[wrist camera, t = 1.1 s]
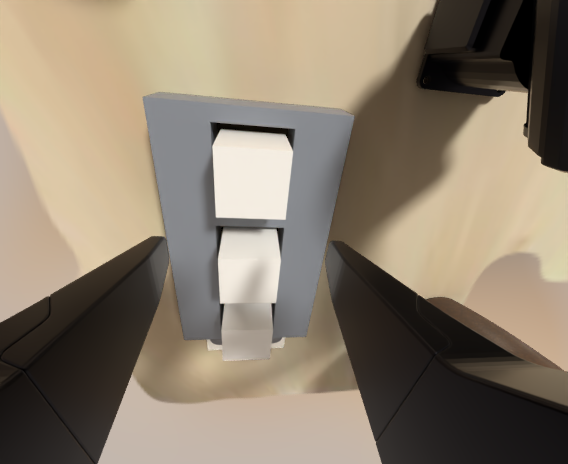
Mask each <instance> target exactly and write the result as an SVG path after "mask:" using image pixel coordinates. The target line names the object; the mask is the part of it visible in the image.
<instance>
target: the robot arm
mask: <svg viewBox="0 0 568 464" xmlns="http://www.w3.org/2000/svg"><path fill="white" fill-rule="evenodd" d="M426 76H427V82H426V83H425V84H424V83H423V80H424V78H425V77H426ZM416 83H417V86H418V87H419V88H422V89H430V90H439V91H448V92H457V93H466V94H476V95H485V96H494V97H499V96H501V95H503V94H504V93H505V91H515V92H525V93H528V103H527V120H526V123H525V124H524V131H523V134H524V136H526V137H527V138H528V147H529V148H530V149H532V150H533V151H534V152H535V153H536V154H537V155H538V156H540V157H541V164H543V165H545V166H547V167H549V168H552V169H555V170H558V171H561V172H565V173H568V0H439V3H438V7H437V10H436V13H435V16H434V20H433V23H432V26H431V29H430V32H429V36H428V39H427V42H426V45H425V55H424V58H423V61H422V64H421V68H420V71H419V74H418V77H417V81H416ZM496 90H498V91H496ZM168 264H169V253H168V247H167V241H166V238H165V237H162V236H152V237H150V238H148V239H146V240H144V241H143V242H141V243H139V244H137V245H136V246H134V247H132V248H131V249H129V250H127V251H125V252H124V253H122V254H120V255H118V256H117V257H115V258H113V259H111V260H110V261H108V262H106V263H105V264H103V265H101V266H99V267H98V268H96V269H94V270H92V271H91V272H89V273H87V274H85V275H84V276H82V277H80V278H79V279H77V280H75V281H73V282H72V283H70V284H68V285H66V286H65V287H63V288H61V289H59V290H58V291H56V292H54V293H53V294H51V295H50V297H45V298H44V299H42V300H40V301H39V302H37V303H35V304H33V305H32V306H30V307H28V308H26V309H24V310H23V311H21V312H19V313H17V314H16V315H14V316H12V317H10V318H8V319H6V320H5V321H3V322H1V323H0V464H97V463H98V461H99V458H100V456H101V453H102V450H103V448H104V445H105V443H106V440H107V438H108V435H109V432H110V429H111V427H112V424H113V422H114V419H115V417H116V414H117V411H118V409H119V406H120V404H121V401H122V398H123V395H124V393H125V391H126V388H127V385H128V383H129V380H130V378H131V375H132V372H133V370H134V367H135V364H136V362H137V359H138V357H139V354H140V351H141V349H142V346H143V344H144V341H145V338H146V336H147V333H148V331H149V328H150V325H151V323H152V320H153V317H154V315H155V312H156V310H157V307H158V304H159V301H160V297H161V293H162V289H163V285H164V281H165V277H166V273H167V269H168ZM325 265H326V271H327V277H328V282H329V288H330V293H331V298H332V303H333V306H334V310H335V313H336V316H337V319H338V322H339V326H340V329H341V332H342V335H343V339H344V342H345V345H346V348H347V352H348V355H349V358H350V361H351V364H352V368H353V371H354V374H355V377H356V381H357V384H358V387H359V390H360V393H361V397H362V400H363V403H364V406H365V410H366V413H367V416H368V419H369V423H370V426H371V429H372V432H373V435H374V439H375V441H376V445H377V449H378V452H379V455H380V458H381V462H382V464H568V372H567V371H562V370H557V369H552V368H547V367H544V366H540V365H537V364H534V363H531V362H529V361H526V360H524V359H522V358H520V357H518V356H516V355H514V354H512V353H511V352H509V351H507V350H505V349H504V348H502V347H501V346H499V345H497V344H496V343H494V342H492V341H491V340H489V339H487V338H486V337H484V336H482V335H481V334H479V333H477V332H476V331H474V330H472V329H471V328H469V327H468V326H466V325H464V324H463V323H461V322H459V321H458V320H456V319H455V318H453V317H451V316H450V315H448V314H447V313H445V312H443V311H442V310H440V309H439V308H437V307H436V306H434V305H433V304H431V303H430V302H429V301H427V300H426V299H424V298H423V297H421V296H420V295H418V294H417V293H416V292H414V291H413V290H411V289H410V288H408V287H407V286H405V285H404V284H403V283H401V282H400V281H398V280H397V279H395V278H394V277H392V276H391V275H390V274H388V273H387V272H385V271H384V270H382V269H381V268H379V267H378V266H377V265H375V264H374V263H372V262H371V261H369V260H368V259H366V258H365V257H364V256H362V255H361V254H359V253H358V252H356V251H355V250H353V249H352V248H351V247H349V246H348V245H346V244H345V243H343V242H342V241H331V242H330V243H329V246H328V251H327V255H326V259H325Z"/></svg>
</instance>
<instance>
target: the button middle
mask: <svg viewBox="0 0 568 464" xmlns="http://www.w3.org/2000/svg"><path fill="white" fill-rule="evenodd" d="M280 264H281V257H280V250H279V243H278V236H277V229H276V228H269V227H235V226H224V228H223V234H222V239H221V245H220V250H219V256H218V271H219V291H220V304H221V303H276V300H277V291H278V282H279V273H280Z"/></svg>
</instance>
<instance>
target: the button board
mask: <svg viewBox="0 0 568 464" xmlns="http://www.w3.org/2000/svg"><path fill="white" fill-rule="evenodd" d="M143 102H144V108H145V114H146V120H147V126H148V132H149V137H150V143H151V149H152V155H153V161H154V167H155V173H156V178H157V184H158V190H159V196H160V202H161V208H162V214H163V219H164V225H165V231H166V237H167V243H168V249H169V254H170V260H171V266H172V272H173V278H174V284H175V290H176V295H177V301H178V307H179V313H180V319H181V325H182V330H183V336H184V340H207V339H222V332H221V330H222V322H223V313H224V303H221V304H220V291H219V271H218V256H219V250H220V245H221V226H240V227H274V228H279V232H278V243H279V250H280V257H281V264H280V273H279V282H278V291H277V300H276V303H271V308H272V321H273V335H272V338H281V337H306V335H307V330H308V326H309V321H310V317H311V312H312V308H313V303H314V299H315V294H316V290H317V285H318V280H319V276H320V271H321V267H322V262H323V258H324V253H325V249H326V244H327V240H328V235H329V231H330V226H331V222H332V217H333V213H334V208H335V204H336V199H337V194H338V190H339V185H340V181H341V176H342V172H343V167H344V163H345V158H346V154H347V149H348V145H349V140H350V136H351V131H352V127H353V122H354V118H355V116H354V115H352V114H350V113H348V112H346V111H344V110H342V109H335V108H324V107H314V106H303V105H293V104H282V103H271V102H261V101H250V100H239V99H229V98H218V97H208V96H197V95H186V94H176V93H165V92H157V93H154V94H151V95H147V96H144V97H143ZM217 123H228V124H241V125H253V126H265V127H278V128H289V132H288V141H289V143H290V146H291V148H292V150H293V158H292V167H291V176H290V184H289V193H288V202H287V211H286V220H276V219H247V218H217V217H216V210H215V189H214V169H213V149H212V146H213V144H214V142H215V140H216V138H217Z"/></svg>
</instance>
